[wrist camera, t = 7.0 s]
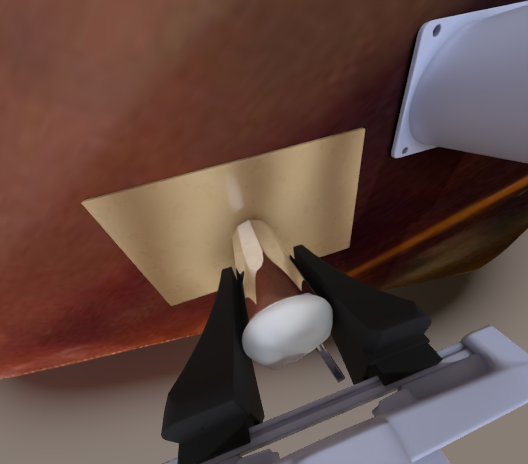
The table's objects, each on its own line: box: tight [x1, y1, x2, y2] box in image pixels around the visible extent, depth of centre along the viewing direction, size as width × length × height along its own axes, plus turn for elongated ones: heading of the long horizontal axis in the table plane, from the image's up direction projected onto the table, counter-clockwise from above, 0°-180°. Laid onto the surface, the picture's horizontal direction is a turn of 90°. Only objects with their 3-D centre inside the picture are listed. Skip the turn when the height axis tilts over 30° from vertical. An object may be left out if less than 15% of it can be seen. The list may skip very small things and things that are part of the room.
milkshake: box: [232, 220, 345, 383], centre depth 12 cm, size 5×5×10 cm
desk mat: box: [82, 128, 365, 306], centre depth 16 cm, size 20×12×1 cm, turn 100°
